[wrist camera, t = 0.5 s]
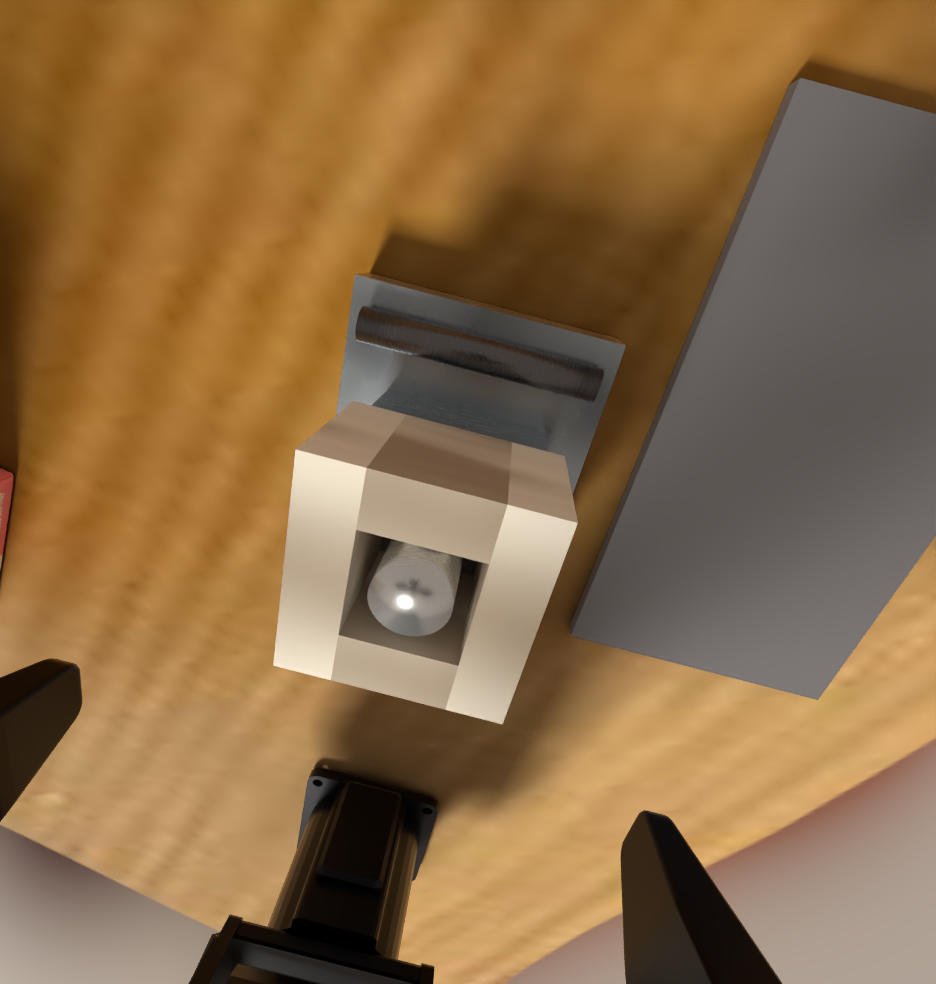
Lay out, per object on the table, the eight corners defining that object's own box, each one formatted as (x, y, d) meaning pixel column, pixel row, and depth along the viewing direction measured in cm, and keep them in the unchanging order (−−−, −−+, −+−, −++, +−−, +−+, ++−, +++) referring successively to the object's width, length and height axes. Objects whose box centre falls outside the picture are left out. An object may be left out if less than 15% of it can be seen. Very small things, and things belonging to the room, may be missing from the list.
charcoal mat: (810, 688, 21) (818, 699, 21) (569, 626, 21) (570, 636, 20) (1163, 184, 14) (1189, 182, 13) (789, 84, 13) (800, 77, 13)
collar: (507, 624, 17) (502, 724, 13) (327, 577, 17) (273, 665, 13) (564, 455, 14) (578, 523, 11) (353, 400, 14) (295, 449, 11)
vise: (514, 632, 21) (509, 807, 15) (324, 583, 21) (230, 736, 15) (618, 338, 16) (683, 396, 10) (369, 272, 16) (258, 284, 10)
